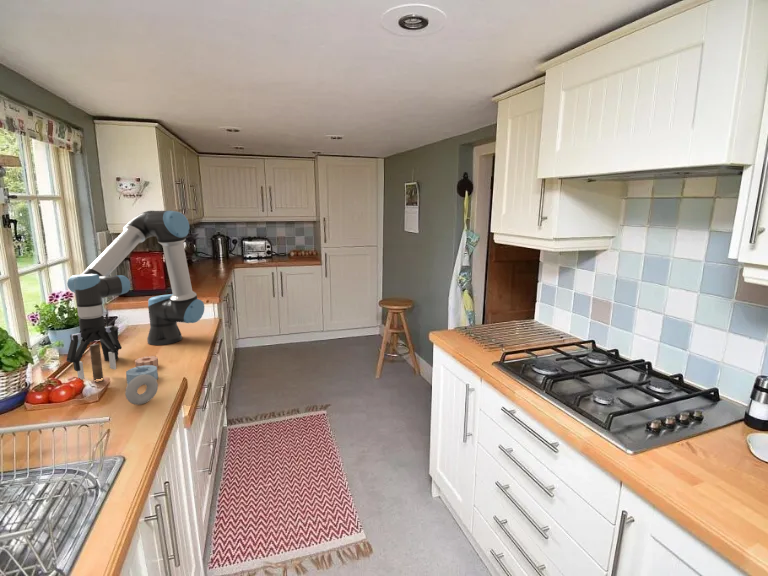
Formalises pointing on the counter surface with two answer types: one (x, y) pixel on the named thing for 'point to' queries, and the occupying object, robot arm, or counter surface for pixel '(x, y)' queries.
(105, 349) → the drinking cup
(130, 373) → the blue thick ring
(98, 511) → the counter surface
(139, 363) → the bead
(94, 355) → the dowel
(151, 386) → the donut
